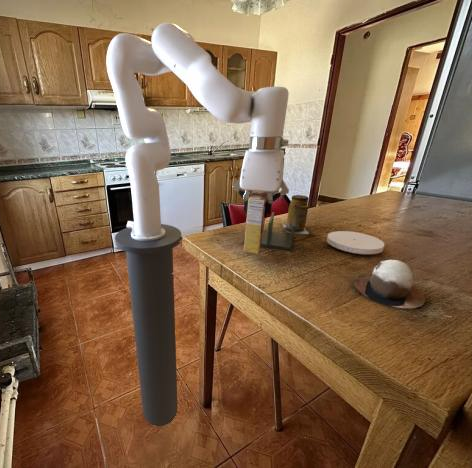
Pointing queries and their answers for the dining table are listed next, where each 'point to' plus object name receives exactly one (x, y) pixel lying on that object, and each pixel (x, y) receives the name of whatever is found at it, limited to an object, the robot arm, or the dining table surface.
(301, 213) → the condiment
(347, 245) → the plastic lid
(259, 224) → the candy box
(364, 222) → the dining table surface
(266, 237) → the rack
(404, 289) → the bowler hat
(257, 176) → the robot arm
